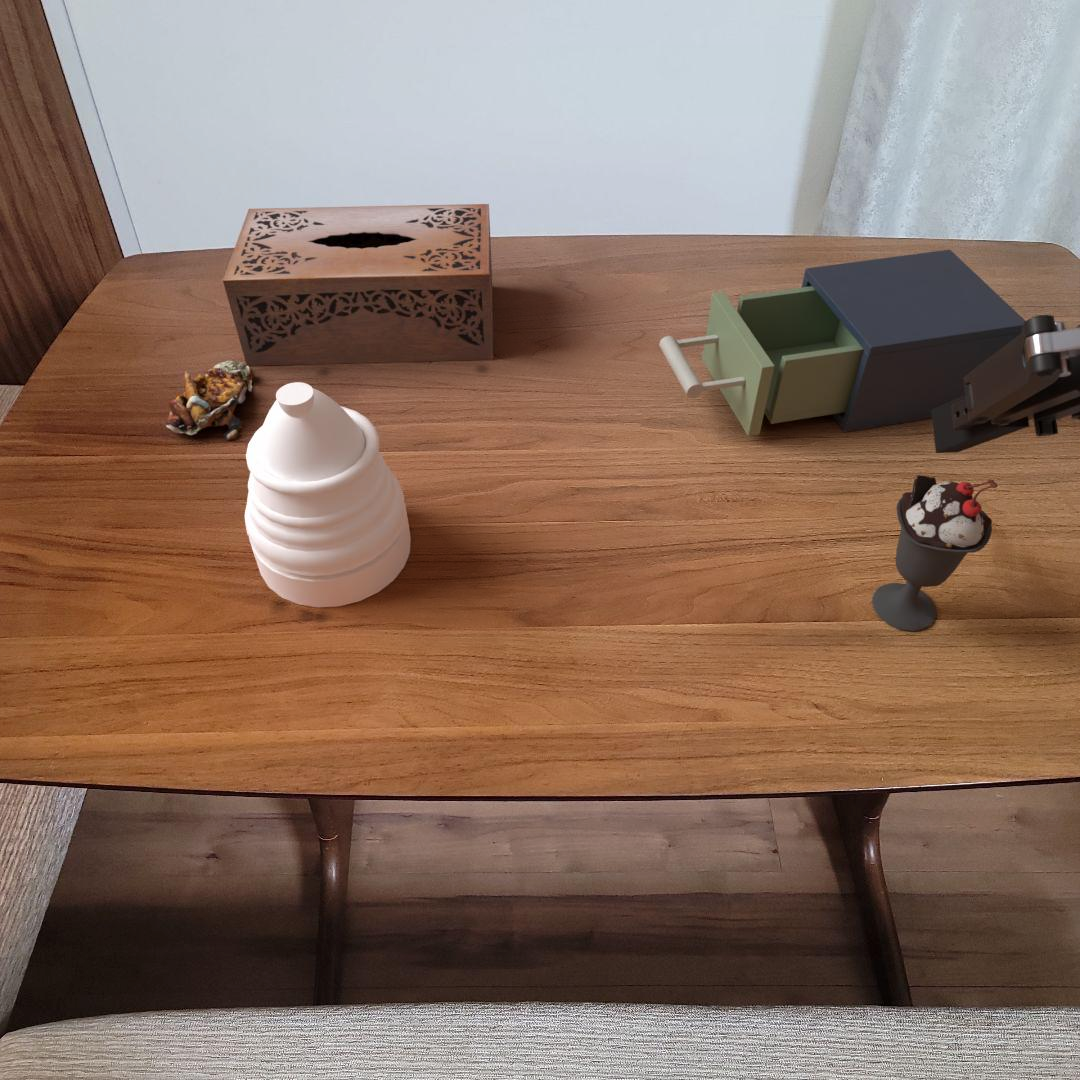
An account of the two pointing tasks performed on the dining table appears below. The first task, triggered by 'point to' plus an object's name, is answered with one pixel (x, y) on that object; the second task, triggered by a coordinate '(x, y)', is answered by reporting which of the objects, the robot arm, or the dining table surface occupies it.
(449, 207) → the tissue box cover
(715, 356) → the drawer
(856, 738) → the dining table surface
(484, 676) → the dining table surface
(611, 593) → the dining table surface
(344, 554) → the honey pot
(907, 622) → the sundae
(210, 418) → the dish of fried food
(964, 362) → the cabinet
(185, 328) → the dining table surface
